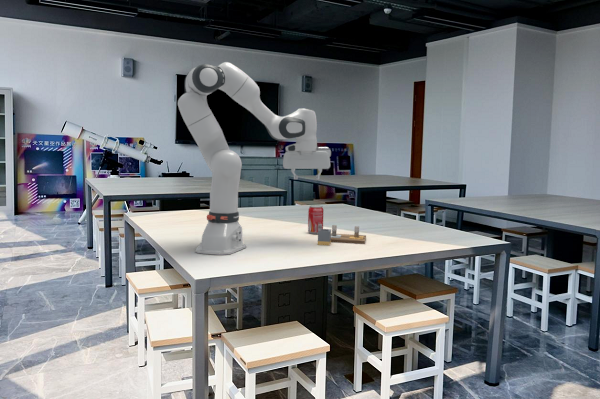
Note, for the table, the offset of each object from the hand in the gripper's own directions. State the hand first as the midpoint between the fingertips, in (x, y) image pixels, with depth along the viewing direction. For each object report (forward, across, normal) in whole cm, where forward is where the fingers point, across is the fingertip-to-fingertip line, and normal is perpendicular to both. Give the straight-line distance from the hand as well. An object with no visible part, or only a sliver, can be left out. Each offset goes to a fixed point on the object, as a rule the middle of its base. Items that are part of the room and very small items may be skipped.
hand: (306, 179), depth 214 cm
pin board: (+28, -16, -7) cm, 33 cm away
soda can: (+28, -2, -20) cm, 34 cm away
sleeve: (+27, -8, +4) cm, 29 cm away
